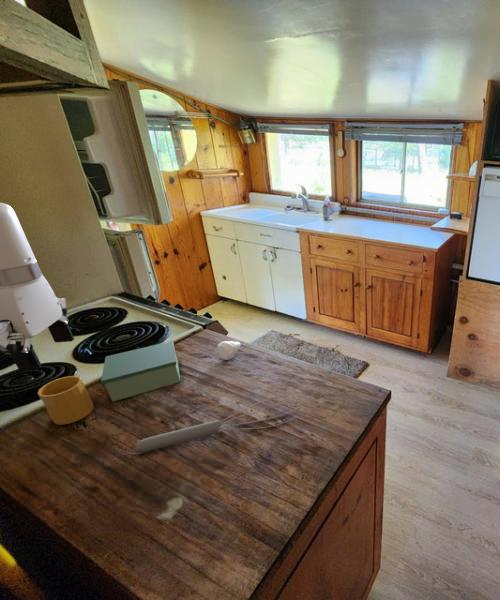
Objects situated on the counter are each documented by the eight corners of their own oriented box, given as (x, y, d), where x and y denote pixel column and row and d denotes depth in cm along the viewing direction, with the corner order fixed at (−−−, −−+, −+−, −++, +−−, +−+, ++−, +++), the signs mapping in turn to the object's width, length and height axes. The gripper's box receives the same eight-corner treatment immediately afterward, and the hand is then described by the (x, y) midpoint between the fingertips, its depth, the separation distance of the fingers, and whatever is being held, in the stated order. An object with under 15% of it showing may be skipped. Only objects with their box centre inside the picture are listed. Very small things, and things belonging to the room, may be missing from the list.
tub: (110, 403, 78) (100, 381, 75) (114, 377, 86) (105, 356, 83) (182, 382, 85) (175, 361, 83) (178, 360, 94) (173, 340, 91)
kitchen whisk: (133, 442, 68) (123, 420, 65) (300, 407, 79) (298, 387, 77) (122, 467, 63) (111, 444, 60) (302, 426, 74) (300, 404, 71)
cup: (45, 427, 71) (29, 398, 67) (65, 405, 76) (51, 378, 73) (83, 421, 72) (69, 393, 69) (99, 401, 78) (87, 374, 75)
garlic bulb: (247, 352, 99) (244, 336, 97) (231, 362, 94) (228, 346, 92) (233, 347, 101) (230, 332, 98) (217, 358, 96) (213, 342, 93)
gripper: (21, 260, 65) (55, 333, 72) (-67, 294, 49) (-12, 384, 57) (67, 258, 66) (96, 331, 74) (-4, 292, 51) (41, 378, 58)
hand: (49, 354), depth 65 cm, fingers open, 9 cm apart
